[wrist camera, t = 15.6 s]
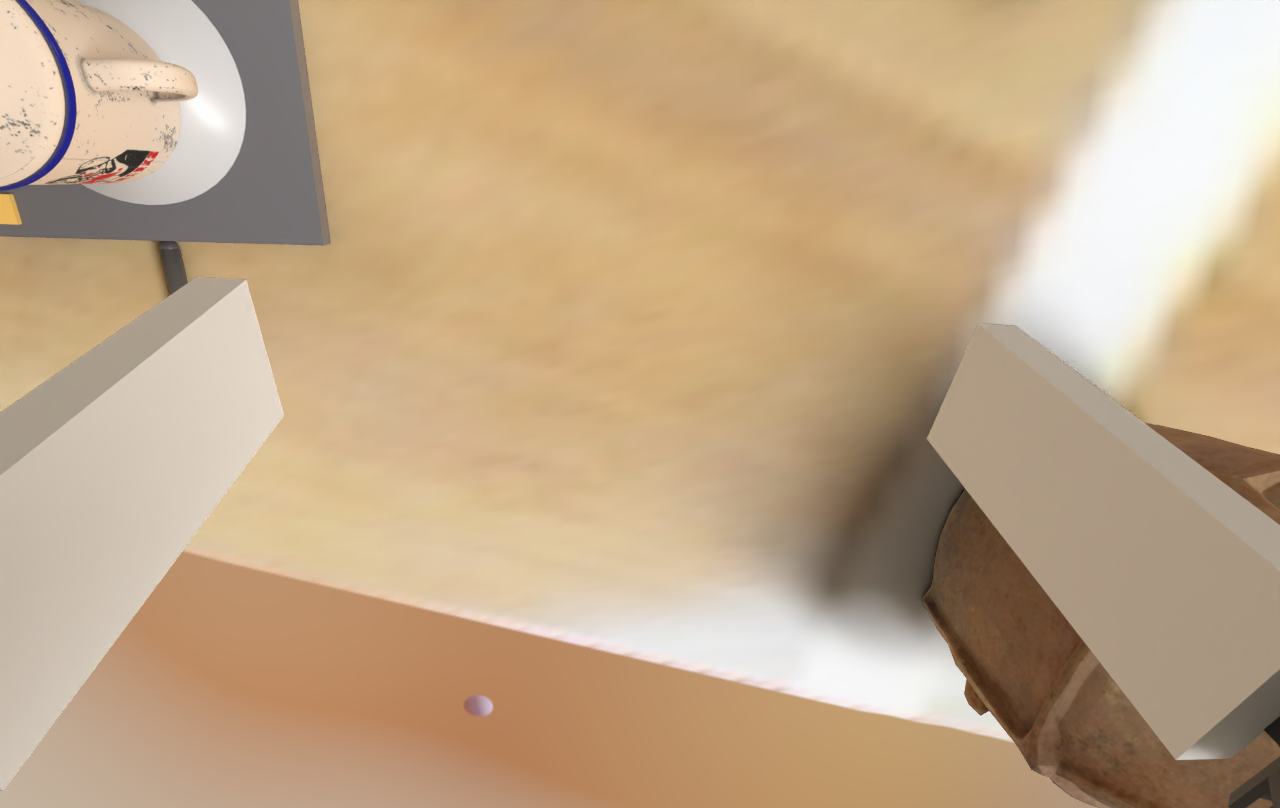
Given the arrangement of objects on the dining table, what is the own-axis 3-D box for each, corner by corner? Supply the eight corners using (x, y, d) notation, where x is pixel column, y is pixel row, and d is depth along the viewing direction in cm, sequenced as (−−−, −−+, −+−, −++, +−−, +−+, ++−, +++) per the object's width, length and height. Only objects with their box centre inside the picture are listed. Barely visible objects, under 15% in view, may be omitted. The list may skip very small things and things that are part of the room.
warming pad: (-103, -104, 29) (-136, -118, 28) (288, -68, 32) (276, -79, 30) (51, 380, 38) (31, 387, 37) (349, 380, 41) (341, 387, 39)
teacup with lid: (37, 191, 33) (-215, 199, 23) (-36, -1, 30) (-372, -100, 19) (264, 181, 35) (130, 184, 24) (218, -5, 31) (37, -100, 20)
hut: (866, 621, 54) (1192, 1098, 26) (1017, 342, 46) (1726, 601, 18) (1065, 662, 59) (1517, 1098, 31) (1233, 416, 51) (2048, 709, 23)
